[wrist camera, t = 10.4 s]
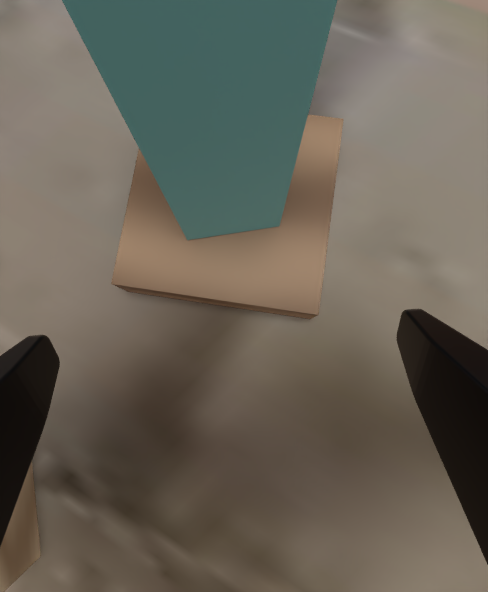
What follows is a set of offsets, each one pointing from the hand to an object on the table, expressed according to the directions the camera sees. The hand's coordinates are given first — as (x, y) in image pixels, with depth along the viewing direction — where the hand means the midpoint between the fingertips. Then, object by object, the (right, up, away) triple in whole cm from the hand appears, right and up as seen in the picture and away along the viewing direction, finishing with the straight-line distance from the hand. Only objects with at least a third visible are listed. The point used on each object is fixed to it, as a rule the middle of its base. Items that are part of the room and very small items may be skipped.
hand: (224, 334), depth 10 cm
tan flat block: (0, +5, +12) cm, 13 cm away
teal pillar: (0, +6, +9) cm, 11 cm away
